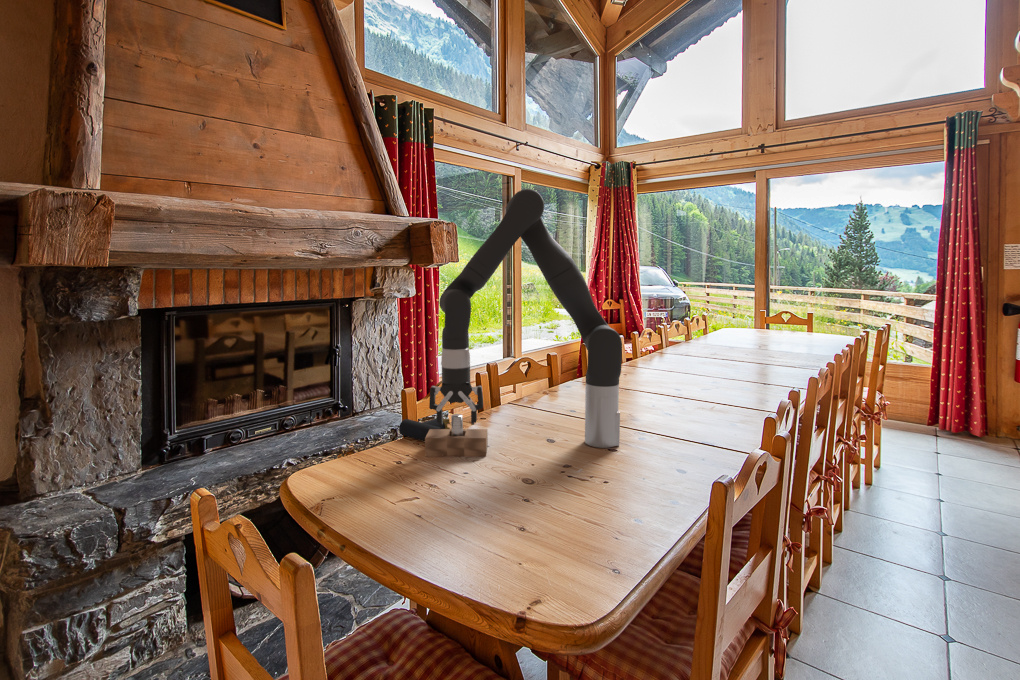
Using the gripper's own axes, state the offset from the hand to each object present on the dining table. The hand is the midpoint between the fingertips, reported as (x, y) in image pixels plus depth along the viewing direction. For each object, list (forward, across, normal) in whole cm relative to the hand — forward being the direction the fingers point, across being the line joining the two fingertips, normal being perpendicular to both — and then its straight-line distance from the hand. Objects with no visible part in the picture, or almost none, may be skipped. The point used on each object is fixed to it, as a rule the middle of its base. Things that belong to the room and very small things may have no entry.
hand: (456, 424), depth 144 cm
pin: (+8, 0, 0) cm, 8 cm away
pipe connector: (+8, +9, -13) cm, 18 cm away
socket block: (+8, 0, 0) cm, 8 cm away
